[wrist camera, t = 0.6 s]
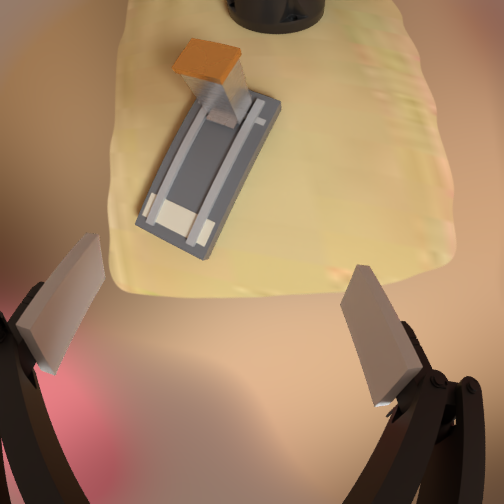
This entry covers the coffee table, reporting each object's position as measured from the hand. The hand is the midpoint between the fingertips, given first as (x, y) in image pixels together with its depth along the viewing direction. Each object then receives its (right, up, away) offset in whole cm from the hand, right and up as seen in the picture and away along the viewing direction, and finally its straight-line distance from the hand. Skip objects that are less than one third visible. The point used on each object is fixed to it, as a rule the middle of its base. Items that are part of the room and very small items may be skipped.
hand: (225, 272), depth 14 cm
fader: (-1, +18, +16) cm, 24 cm away
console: (-4, +12, +20) cm, 24 cm away
